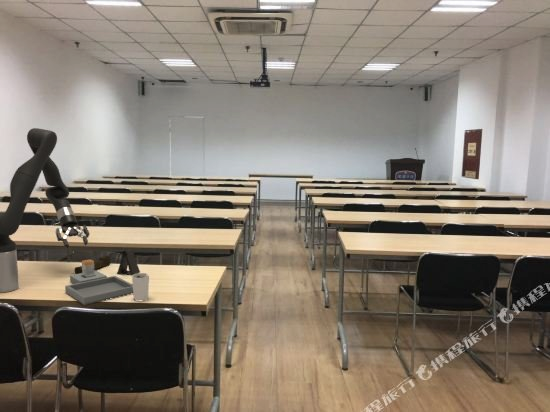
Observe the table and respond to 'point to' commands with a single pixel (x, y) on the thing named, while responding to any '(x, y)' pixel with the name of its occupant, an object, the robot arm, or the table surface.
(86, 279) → the socket block
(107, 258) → the hand tool
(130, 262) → the black a-frame stand
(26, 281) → the table surface
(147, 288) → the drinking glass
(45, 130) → the robot arm
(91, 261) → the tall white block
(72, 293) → the tray
